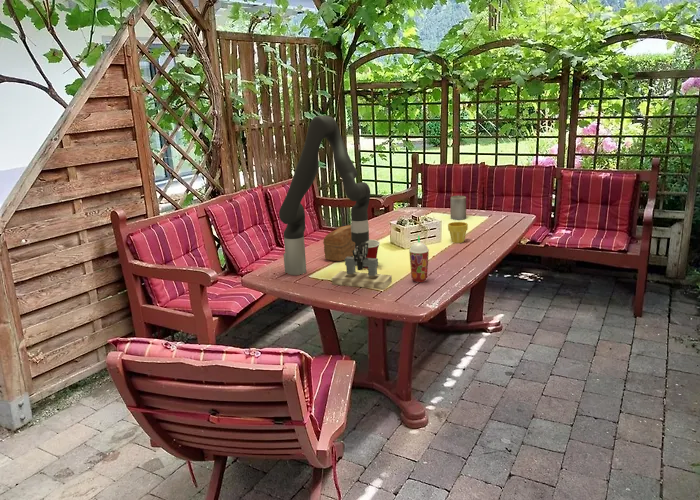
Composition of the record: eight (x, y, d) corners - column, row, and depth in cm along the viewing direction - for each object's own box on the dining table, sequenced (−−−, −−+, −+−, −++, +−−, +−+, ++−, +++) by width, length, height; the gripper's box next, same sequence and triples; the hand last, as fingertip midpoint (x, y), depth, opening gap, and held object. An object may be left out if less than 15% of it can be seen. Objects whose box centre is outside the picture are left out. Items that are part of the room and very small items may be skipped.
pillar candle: (457, 215, 366) (457, 192, 362) (469, 218, 358) (469, 194, 354) (447, 218, 360) (447, 195, 356) (459, 220, 353) (459, 197, 348)
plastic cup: (361, 271, 263) (360, 246, 260) (355, 264, 273) (354, 240, 270) (383, 268, 266) (383, 243, 263) (376, 262, 276) (375, 238, 273)
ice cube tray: (332, 284, 247) (331, 277, 247) (341, 277, 256) (340, 270, 256) (384, 289, 239) (384, 282, 238) (391, 281, 247) (391, 275, 247)
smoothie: (427, 276, 252) (427, 232, 246) (430, 282, 244) (430, 237, 238) (408, 277, 252) (407, 233, 246) (411, 283, 244) (410, 238, 238)
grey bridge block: (345, 273, 248) (344, 258, 246) (348, 271, 250) (347, 256, 248) (375, 276, 242) (375, 260, 241) (378, 274, 245) (377, 258, 243)
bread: (320, 261, 282) (319, 233, 278) (348, 246, 306) (347, 220, 302) (341, 263, 276) (340, 235, 273) (368, 249, 300) (367, 222, 296)
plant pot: (444, 241, 307) (444, 224, 304) (456, 238, 313) (456, 220, 311) (459, 245, 299) (459, 227, 297) (471, 241, 306) (471, 223, 303)
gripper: (357, 225, 249) (359, 263, 253) (345, 233, 236) (347, 273, 241) (373, 226, 246) (375, 264, 251) (362, 234, 233) (363, 274, 238)
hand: (361, 268), depth 246 cm, fingers closed on grey bridge block, 3 cm apart
